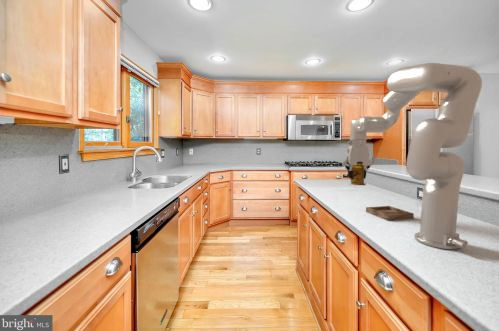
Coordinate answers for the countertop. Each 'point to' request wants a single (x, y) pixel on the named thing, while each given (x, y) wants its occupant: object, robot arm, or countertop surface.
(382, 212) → the walnut tray
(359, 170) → the condiment
